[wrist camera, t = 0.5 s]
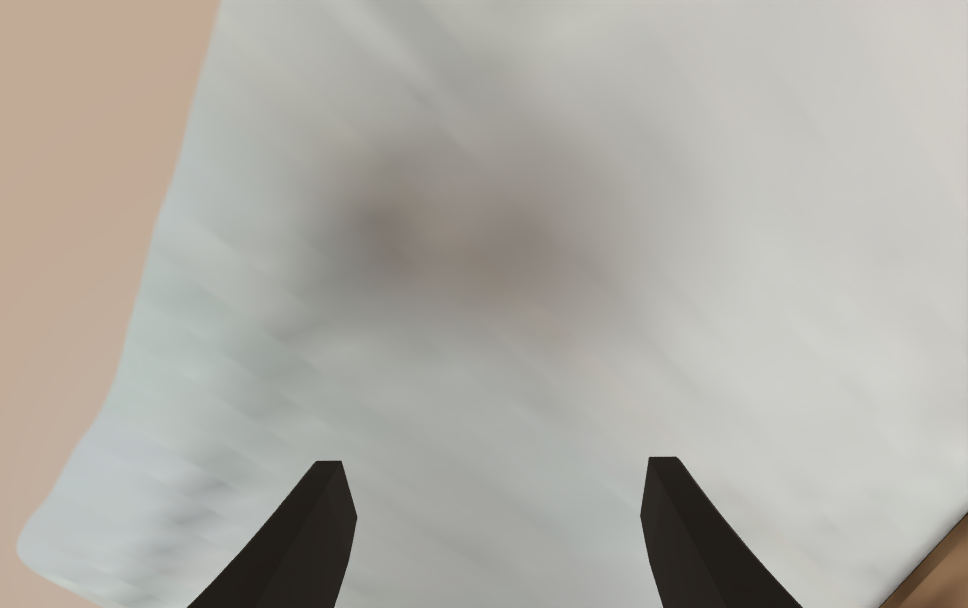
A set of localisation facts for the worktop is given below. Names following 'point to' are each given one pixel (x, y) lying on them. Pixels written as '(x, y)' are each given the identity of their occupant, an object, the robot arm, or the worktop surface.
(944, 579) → the walnut tray
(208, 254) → the worktop surface
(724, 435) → the worktop surface
